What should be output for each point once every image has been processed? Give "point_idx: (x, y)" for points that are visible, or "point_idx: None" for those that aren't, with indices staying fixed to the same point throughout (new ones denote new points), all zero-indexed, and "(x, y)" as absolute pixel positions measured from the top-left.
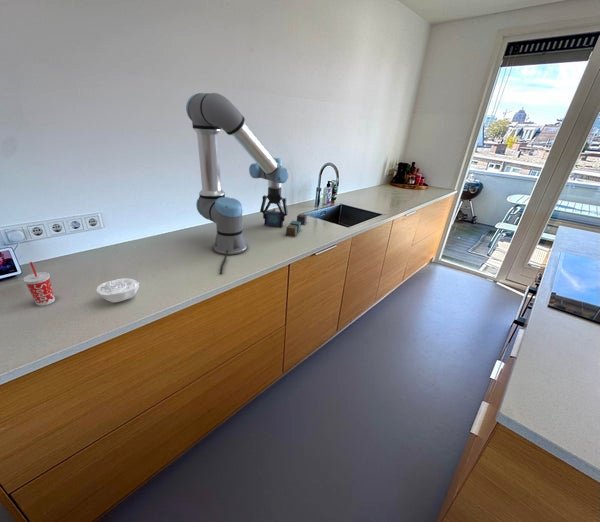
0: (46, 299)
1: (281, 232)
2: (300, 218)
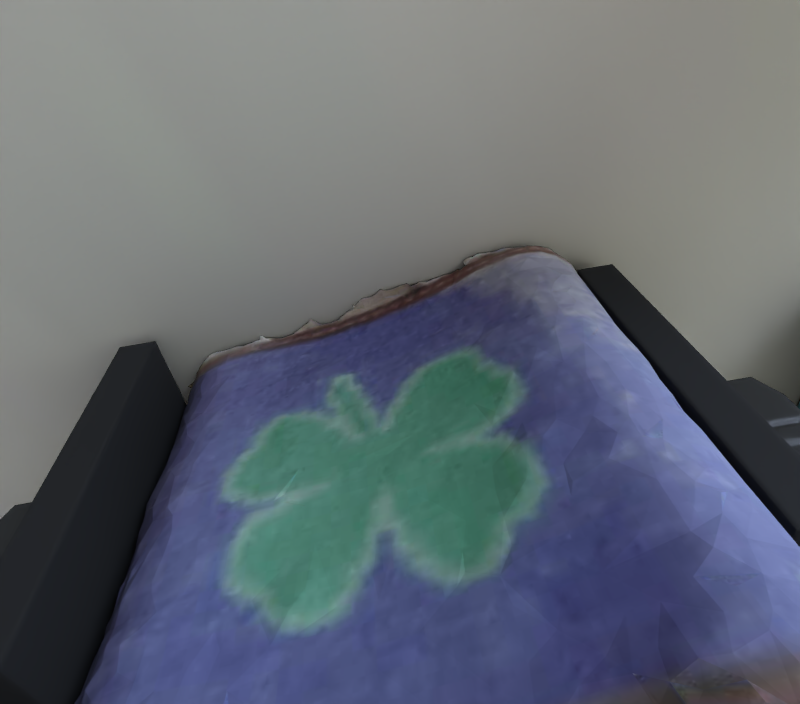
0: None
1: None
2: None
